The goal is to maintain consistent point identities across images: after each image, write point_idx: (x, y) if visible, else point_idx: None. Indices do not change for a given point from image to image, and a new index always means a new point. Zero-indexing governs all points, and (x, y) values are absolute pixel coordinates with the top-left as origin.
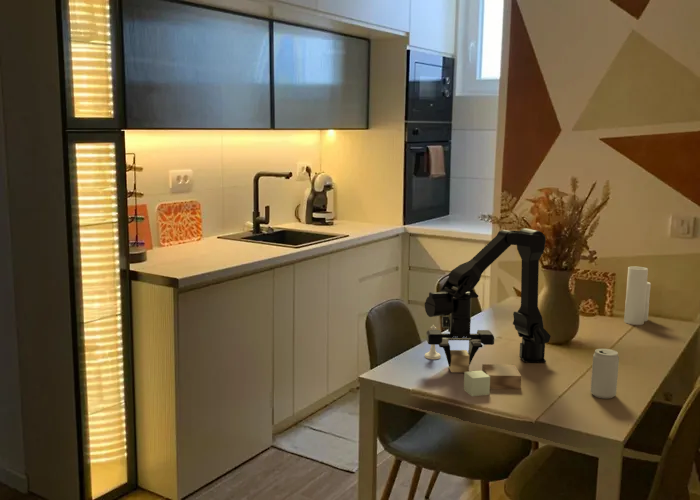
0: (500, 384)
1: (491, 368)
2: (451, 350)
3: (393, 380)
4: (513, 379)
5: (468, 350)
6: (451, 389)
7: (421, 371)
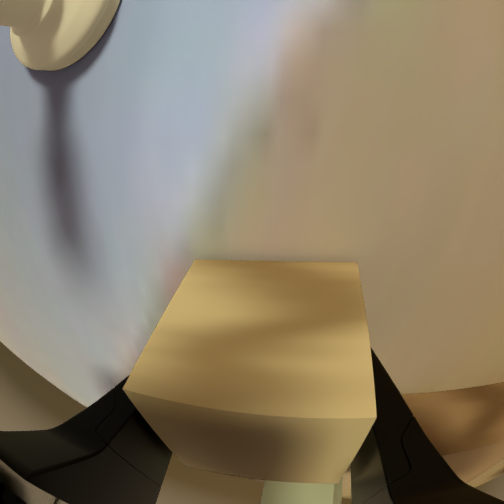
0: None
1: None
2: (152, 405)
3: (40, 365)
4: None
5: (377, 456)
6: None
7: (66, 311)
